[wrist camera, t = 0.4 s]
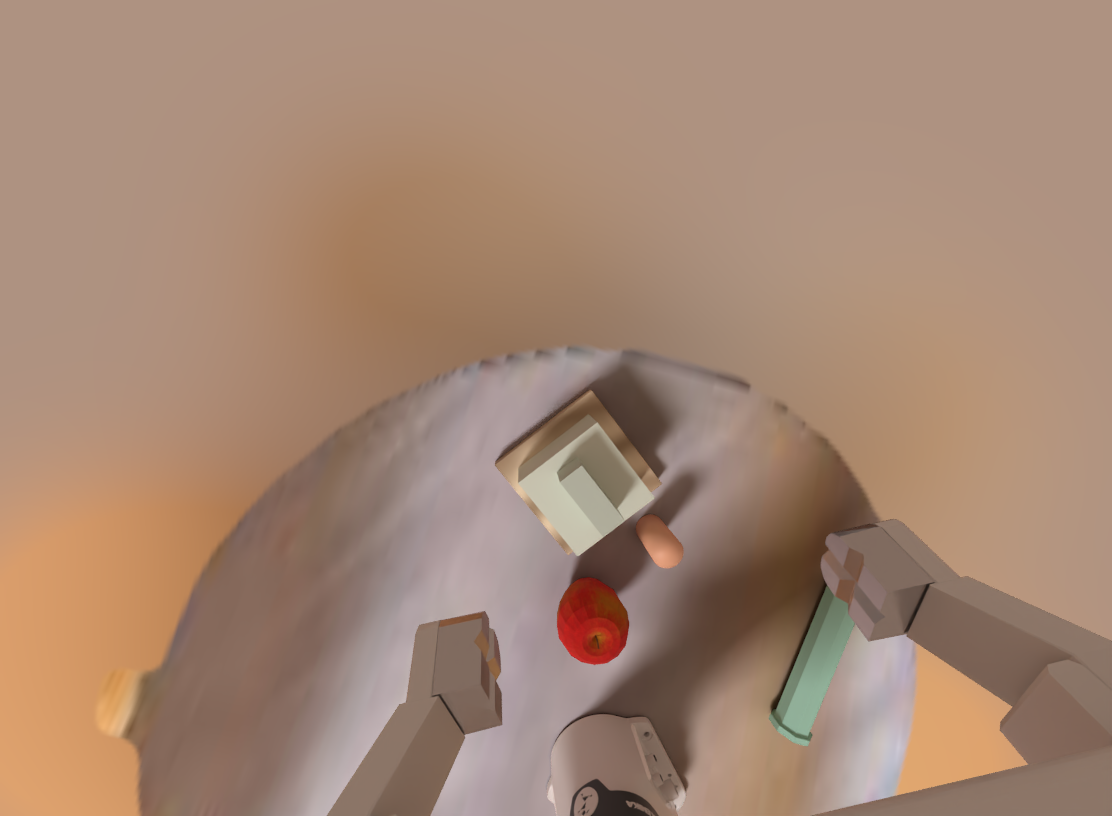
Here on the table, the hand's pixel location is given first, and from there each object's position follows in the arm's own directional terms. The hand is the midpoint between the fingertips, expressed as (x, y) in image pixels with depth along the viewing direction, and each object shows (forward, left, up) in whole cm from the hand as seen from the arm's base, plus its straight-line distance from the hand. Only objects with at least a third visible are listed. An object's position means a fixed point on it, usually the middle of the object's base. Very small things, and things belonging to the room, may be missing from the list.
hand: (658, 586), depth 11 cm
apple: (-26, +13, -51) cm, 59 cm away
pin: (-24, 0, -50) cm, 56 cm away
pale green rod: (-55, -9, -51) cm, 75 cm away
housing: (-11, +3, -48) cm, 50 cm away
